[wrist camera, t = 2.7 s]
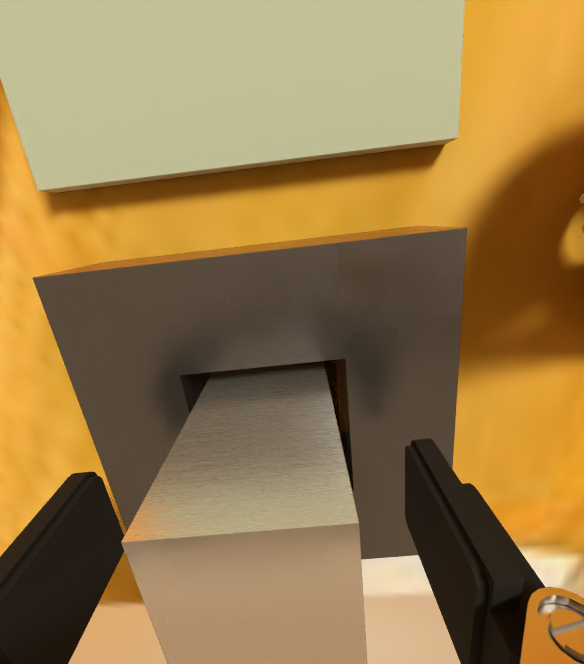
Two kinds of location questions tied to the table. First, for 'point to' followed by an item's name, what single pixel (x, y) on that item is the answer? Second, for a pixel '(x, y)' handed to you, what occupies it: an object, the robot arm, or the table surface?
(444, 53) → the sage mat
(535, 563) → the table surface
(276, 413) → the beige peg
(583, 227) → the plastic component
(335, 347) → the socket block
